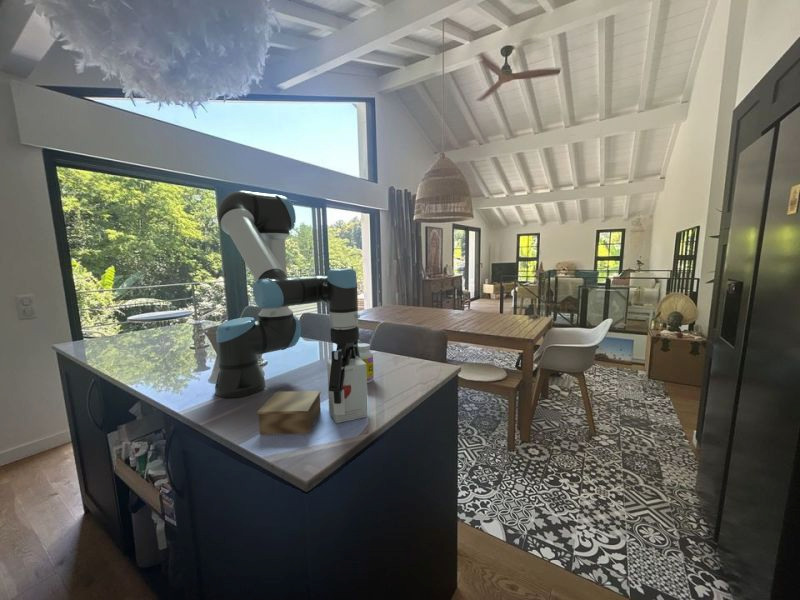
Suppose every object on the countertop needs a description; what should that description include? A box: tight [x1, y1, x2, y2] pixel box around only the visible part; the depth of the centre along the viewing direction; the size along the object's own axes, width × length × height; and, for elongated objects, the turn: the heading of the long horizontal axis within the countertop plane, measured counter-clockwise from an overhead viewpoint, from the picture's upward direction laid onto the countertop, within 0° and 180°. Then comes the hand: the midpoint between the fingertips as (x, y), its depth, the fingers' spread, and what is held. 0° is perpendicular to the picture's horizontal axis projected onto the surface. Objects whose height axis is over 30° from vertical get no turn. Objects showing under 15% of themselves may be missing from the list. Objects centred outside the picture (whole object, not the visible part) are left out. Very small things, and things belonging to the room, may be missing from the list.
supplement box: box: [326, 356, 369, 424], centre depth 93 cm, size 9×9×15 cm
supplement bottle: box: [358, 342, 374, 384], centre depth 118 cm, size 7×7×13 cm
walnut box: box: [256, 390, 322, 435], centre depth 89 cm, size 12×12×6 cm
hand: (347, 403), depth 93 cm, fingers closed on supplement box, 12 cm apart
